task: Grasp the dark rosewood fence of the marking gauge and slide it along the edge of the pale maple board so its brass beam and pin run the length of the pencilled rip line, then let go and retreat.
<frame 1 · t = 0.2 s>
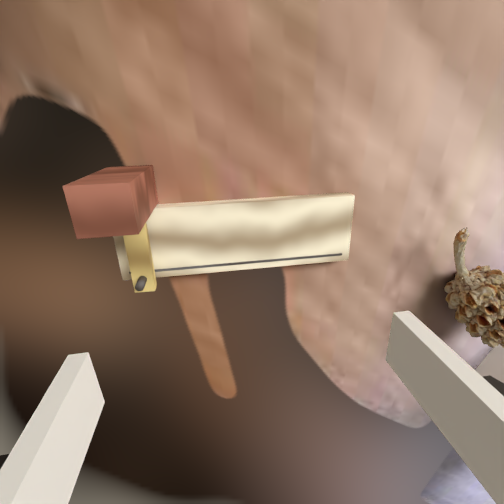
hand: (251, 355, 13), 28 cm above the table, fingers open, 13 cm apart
gauge: (130, 242, 32), point 6 cm above the table, slide at 0.0 cm
board: (237, 232, 40), on the table
pine cone: (452, 272, 48), on the table
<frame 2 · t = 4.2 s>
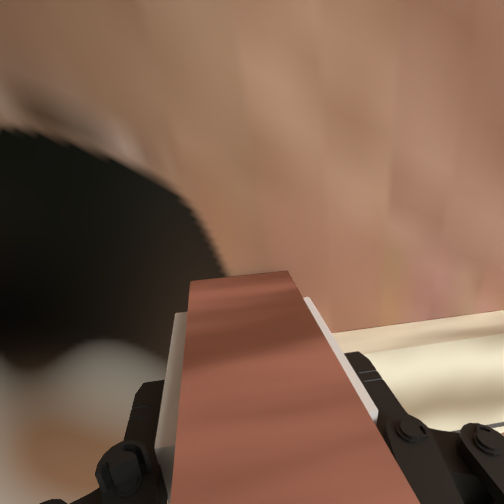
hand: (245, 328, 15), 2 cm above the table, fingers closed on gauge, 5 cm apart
gauge: (265, 490, 13), point 6 cm above the table, slide at 0.0 cm, touching gripper
board: (421, 374, 21), on the table
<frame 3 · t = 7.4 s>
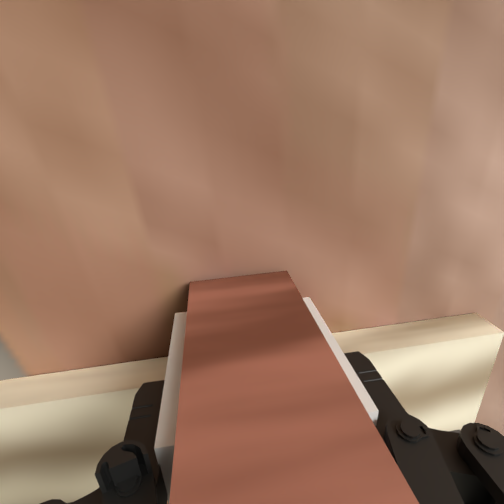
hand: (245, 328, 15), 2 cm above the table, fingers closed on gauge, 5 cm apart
gauge: (266, 491, 13), point 6 cm above the table, slide at 12.2 cm, touching gripper
board: (246, 402, 19), on the table
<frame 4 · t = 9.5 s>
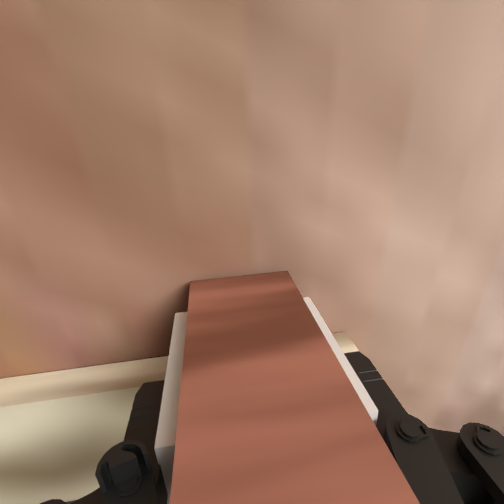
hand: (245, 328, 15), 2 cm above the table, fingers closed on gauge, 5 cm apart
gauge: (265, 491, 13), point 6 cm above the table, slide at 20.8 cm, touching gripper
board: (104, 424, 18), on the table
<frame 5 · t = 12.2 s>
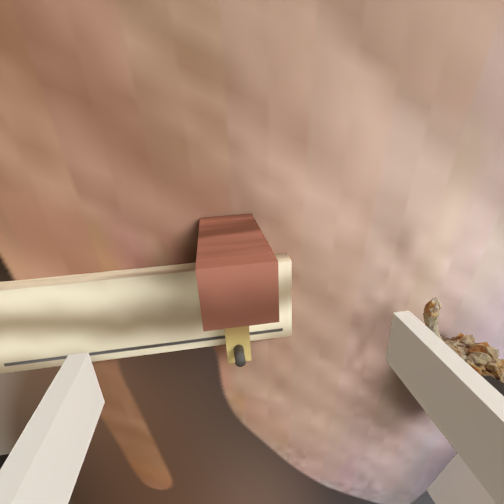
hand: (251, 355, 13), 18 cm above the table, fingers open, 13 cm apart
gauge: (236, 313, 26), point 6 cm above the table, slide at 21.0 cm
board: (148, 306, 32), on the table
pine cone: (429, 338, 39), on the table
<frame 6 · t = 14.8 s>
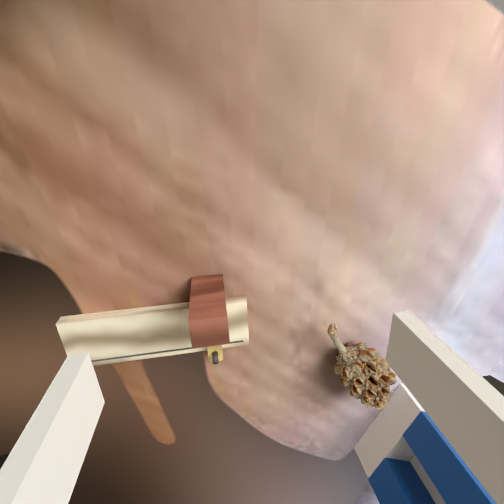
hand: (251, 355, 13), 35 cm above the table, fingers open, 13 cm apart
gauge: (212, 334, 47), point 6 cm above the table, slide at 21.0 cm
board: (160, 327, 52), on the table
toy block: (410, 423, 73), on the table
pine cone: (343, 344, 60), on the table
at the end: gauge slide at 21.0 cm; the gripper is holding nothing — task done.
